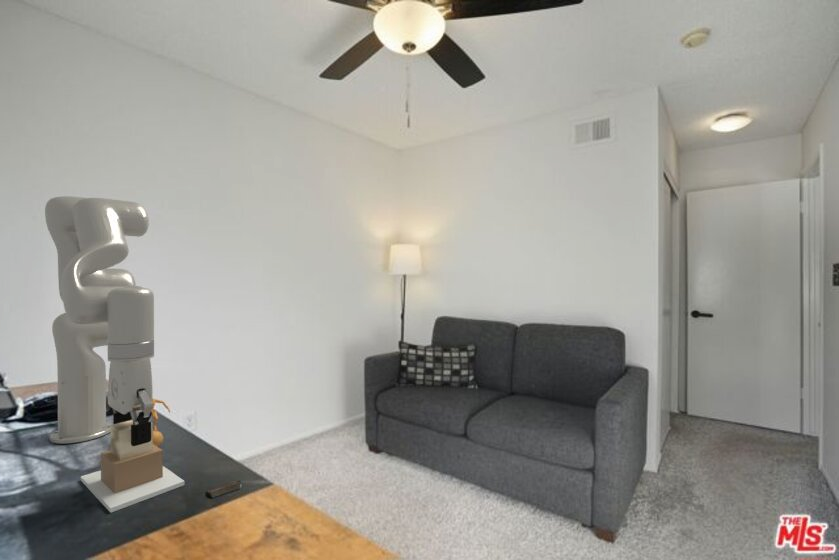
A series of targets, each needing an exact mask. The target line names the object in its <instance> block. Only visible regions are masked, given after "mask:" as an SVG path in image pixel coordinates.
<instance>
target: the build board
mask: <svg viewBox="0 0 839 560" xmlns="http://www.w3.org/2000/svg"><path fill="white" fill-rule="evenodd" d="M163 456H164V454H163V449H162V448H160V447H159V446H158V447H157V446H155V445H154V444H153V451H149V452H146V453H143V454H139V455H136V456H133V457H129V458H126V459H123V460H120V459H118V458H117V457H116V456H115V455H113V454H112V453H111V449H110V450H106V451H102V452H100V470H98V471H94V472H91V473H88V474H85V475H81V476H80V481H81V482H82V484H83V485H84V486H85V487H86V488H87V489H88V490H89V491H90V492H91V494H93V496H94V497H95V499H98V501H99V502H100V503H101V504H102V506H104V507H105V509H107V511H108V512H109V513H110V514H111V513H114V512H116V511H119V510H122V509H124V508H128V507H129V506H133V505H136V504H137V503H138V504H139V503H140V502H143V501H146V500H148V499H151V498H154V497H156V496H159V495H162V494H164V493H168V492H170V491H172V490H175V489H177V488H180V487H183V486H185V480H184V479H182V478H181V477H180V476H178V475H177V474H175V473H174V472H173V471H171V470H170V469H168V467H165V466H164V465H163V462H164V461H163V459H164V458H163Z"/></svg>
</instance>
